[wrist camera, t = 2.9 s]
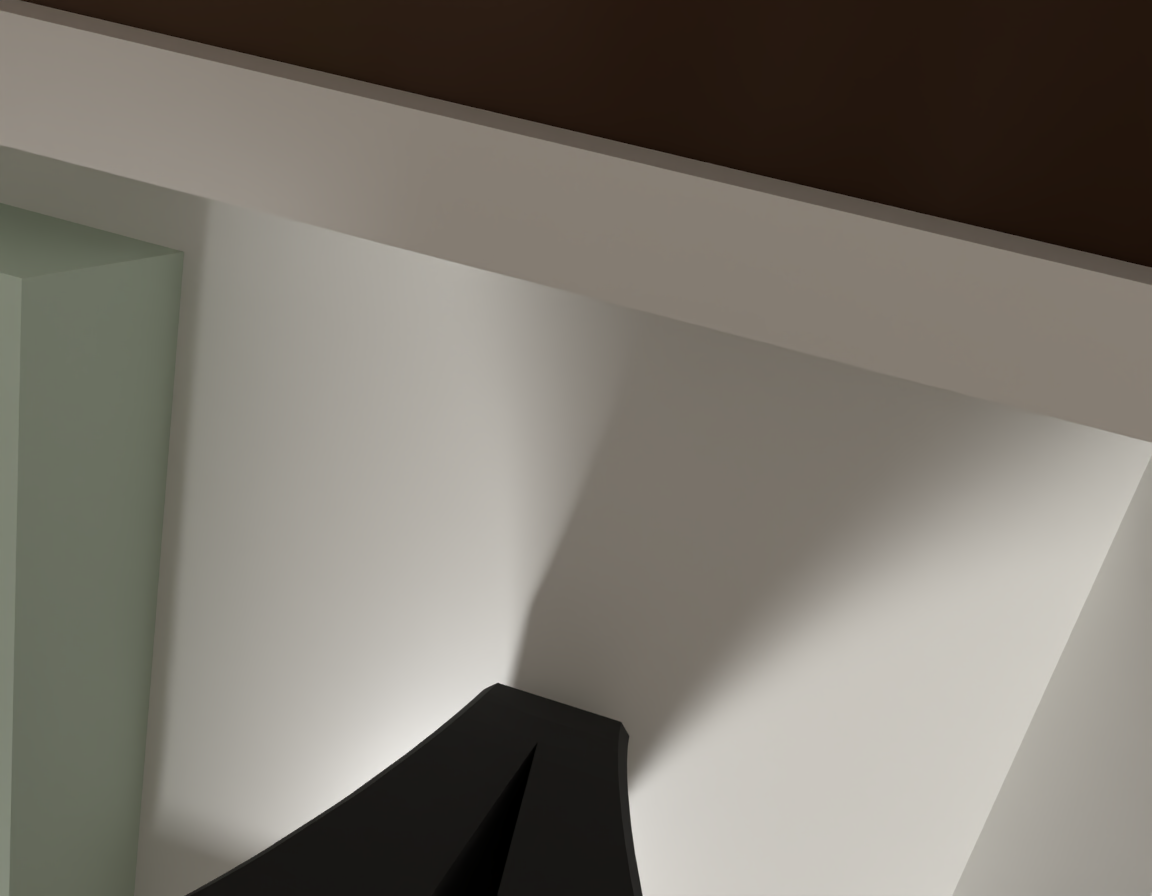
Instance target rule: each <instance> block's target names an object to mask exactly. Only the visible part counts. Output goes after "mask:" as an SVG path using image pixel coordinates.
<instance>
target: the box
mask: <svg viewBox="0 0 1152 896" xmlns="http://www.w3.org/2000/svg"><path fill="white" fill-rule="evenodd" d="M0 203H3V204H7V205H11V206H14V207H18V208H22V209H26V210H29V211H33V212H37V213H41V214H44V215H48V216H52V217H55V218H59V219H63V220H67V221H70V222H74V223H78V224H82V225H85V226H89V227H93V228H97V229H100V230H104V231H108V232H112V233H115V234H119V235H123V236H126V237H130V238H134V239H138V240H141V241H145V242H149V243H153V244H156V245H160V246H164V247H168V248H171V249H175V250H179V251H183V252H184V260H183V273H182V286H181V299H180V311H179V324H178V337H177V350H176V363H175V376H174V388H173V401H172V414H171V427H170V440H169V453H168V466H167V478H166V491H165V504H164V517H163V530H162V543H161V556H160V568H159V581H158V594H157V607H156V620H155V633H154V646H153V658H152V671H151V684H150V697H149V710H148V723H147V735H146V748H145V761H144V774H143V787H142V800H141V813H140V825H139V838H138V851H137V864H136V877H135V890H134V896H185V895H187V894H188V893H190V892H192V891H194V890H196V889H198V888H199V887H201V886H203V885H205V884H207V883H208V882H210V881H212V880H214V879H216V878H217V877H219V876H221V875H223V874H224V873H226V872H228V871H230V870H231V869H233V868H235V867H236V866H238V865H240V864H242V863H243V862H245V861H247V860H248V859H250V858H252V857H253V856H255V855H257V854H258V853H260V852H262V851H263V850H265V849H267V848H268V847H270V846H271V845H273V844H274V843H276V842H277V841H279V840H281V839H282V838H284V837H285V836H287V835H288V834H290V833H292V832H293V831H295V830H296V829H298V828H299V827H301V826H302V825H304V824H306V823H307V822H309V821H310V820H312V819H313V818H315V817H317V816H318V815H320V814H321V813H323V812H324V811H326V810H327V809H329V808H331V807H332V806H334V805H335V804H337V803H338V802H340V801H341V800H343V799H344V798H345V797H347V796H348V795H350V794H351V793H353V792H354V791H355V790H357V789H358V788H360V787H361V786H362V785H364V784H365V783H366V782H368V781H369V780H371V779H372V778H373V777H375V776H376V775H377V774H379V773H380V772H382V771H383V770H384V769H386V768H387V767H388V766H390V765H391V764H393V763H394V762H395V761H397V760H398V759H399V758H401V757H402V756H404V755H405V754H406V753H408V752H409V751H410V750H412V749H413V748H414V747H415V746H417V745H418V744H419V743H420V742H422V741H423V740H424V739H426V738H427V737H428V736H429V735H431V734H432V733H433V732H434V731H436V730H437V729H438V728H439V727H441V726H442V725H443V724H444V723H446V722H447V721H448V720H449V719H450V718H452V717H453V716H454V715H455V714H456V713H457V712H459V711H460V710H461V709H462V708H463V707H464V706H466V705H467V704H468V703H469V702H470V701H471V700H472V699H474V698H475V697H476V696H477V695H478V694H479V693H480V692H481V691H482V690H484V689H485V688H487V687H489V686H492V685H494V684H496V683H500V684H504V685H507V686H510V687H513V688H516V689H519V690H522V691H526V692H529V693H532V694H535V695H538V696H541V697H545V698H548V699H551V700H554V701H557V702H560V703H564V704H567V705H570V706H573V707H576V708H579V709H582V710H586V711H589V712H592V713H595V714H598V715H601V716H605V717H608V718H611V719H614V720H617V721H620V722H622V724H623V726H624V727H625V729H626V731H627V733H628V734H629V742H628V753H627V781H628V797H629V807H630V818H631V827H632V835H633V842H634V849H635V856H636V861H637V867H638V872H639V878H640V884H641V889H642V895H643V896H1152V268H1151V267H1147V266H1143V265H1138V264H1134V263H1130V262H1126V261H1121V260H1117V259H1113V258H1109V257H1104V256H1100V255H1096V254H1092V253H1088V252H1083V251H1079V250H1075V249H1071V248H1066V247H1062V246H1058V245H1054V244H1049V243H1045V242H1041V241H1037V240H1033V239H1028V238H1024V237H1020V236H1016V235H1011V234H1007V233H1003V232H999V231H994V230H990V229H986V228H982V227H978V226H973V225H969V224H965V223H961V222H956V221H952V220H948V219H944V218H939V217H935V216H931V215H927V214H922V213H918V212H914V211H910V210H906V209H901V208H897V207H893V206H889V205H884V204H880V203H876V202H872V201H867V200H863V199H859V198H855V197H851V196H846V195H842V194H838V193H834V192H829V191H825V190H821V189H817V188H812V187H808V186H804V185H800V184H796V183H791V182H787V181H783V180H779V179H774V178H770V177H766V176H762V175H757V174H753V173H749V172H745V171H741V170H736V169H732V168H728V167H724V166H719V165H715V164H711V163H707V162H702V161H698V160H694V159H690V158H685V157H681V156H677V155H673V154H669V153H664V152H660V151H656V150H652V149H647V148H643V147H639V146H635V145H630V144H626V143H622V142H618V141H614V140H609V139H605V138H601V137H597V136H592V135H588V134H584V133H580V132H575V131H571V130H567V129H563V128H559V127H554V126H550V125H546V124H542V123H537V122H533V121H529V120H525V119H520V118H516V117H512V116H508V115H504V114H499V113H495V112H491V111H487V110H482V109H478V108H474V107H470V106H465V105H461V104H457V103H453V102H448V101H444V100H440V99H436V98H432V97H427V96H423V95H419V94H415V93H410V92H406V91H402V90H398V89H393V88H389V87H385V86H381V85H377V84H372V83H368V82H364V81H360V80H355V79H351V78H347V77H343V76H338V75H334V74H330V73H326V72H322V71H317V70H313V69H309V68H305V67H300V66H296V65H292V64H288V63H283V62H279V61H275V60H271V59H267V58H262V57H258V56H254V55H250V54H245V53H241V52H237V51H233V50H228V49H224V48H220V47H216V46H211V45H207V44H203V43H199V42H195V41H190V40H186V39H182V38H178V37H173V36H169V35H165V34H161V33H156V32H152V31H148V30H144V29H140V28H135V27H131V26H127V25H123V24H118V23H114V22H110V21H106V20H101V19H97V18H93V17H89V16H85V15H80V14H76V13H72V12H68V11H63V10H59V9H55V8H51V7H46V6H42V5H38V4H34V3H30V2H25V1H21V0H0Z"/></svg>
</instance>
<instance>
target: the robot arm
mask: <svg viewBox="0 0 1152 896" xmlns="http://www.w3.org/2000/svg"><path fill="white" fill-rule="evenodd" d="M628 742H629V734H628V733H627V731H626V729H625V727H624V726H623V724H622V722H620V721H617V720H614V719H611V718H608V717H605V716H601V715H598V714H595V713H592V712H589V711H586V710H582V709H579V708H576V707H573V706H570V705H567V704H564V703H560V702H557V701H554V700H551V699H548V698H545V697H541V696H538V695H535V694H532V693H529V692H526V691H522V690H519V689H516V688H513V687H510V686H507V685H504V684H500V683H496V684H494V685H492V686H489V687H487V688H485V689H484V690H482V691H481V692H480V693H479V694H478V695H477V696H476V697H475V698H474V699H472V700H471V701H470V702H469V703H468V704H467V705H466V706H464V707H463V708H462V709H461V710H460V711H459V712H457V713H456V714H455V715H454V716H453V717H452V718H450V719H449V720H448V721H447V722H446V723H444V724H443V725H442V726H441V727H439V728H438V729H437V730H436V731H434V732H433V733H432V734H431V735H429V736H428V737H427V738H426V739H424V740H423V741H422V742H420V743H419V744H418V745H417V746H415V747H414V748H413V749H412V750H410V751H409V752H408V753H406V754H405V755H404V756H402V757H401V758H399V759H398V760H397V761H395V762H394V763H393V764H391V765H390V766H388V767H387V768H386V769H384V770H383V771H382V772H380V773H379V774H377V775H376V776H375V777H373V778H372V779H371V780H369V781H368V782H366V783H365V784H364V785H362V786H361V787H360V788H358V789H357V790H355V791H354V792H353V793H351V794H350V795H348V796H347V797H345V798H344V799H343V800H341V801H340V802H338V803H337V804H335V805H334V806H332V807H331V808H329V809H327V810H326V811H324V812H323V813H321V814H320V815H318V816H317V817H315V818H313V819H312V820H310V821H309V822H307V823H306V824H304V825H302V826H301V827H299V828H298V829H296V830H295V831H293V832H292V833H290V834H288V835H287V836H285V837H284V838H282V839H281V840H279V841H277V842H276V843H274V844H273V845H271V846H270V847H268V848H267V849H265V850H263V851H262V852H260V853H258V854H257V855H255V856H253V857H252V858H250V859H248V860H247V861H245V862H243V863H242V864H240V865H238V866H236V867H235V868H233V869H231V870H230V871H228V872H226V873H224V874H223V875H221V876H219V877H217V878H216V879H214V880H212V881H210V882H208V883H207V884H205V885H203V886H201V887H199V888H198V889H196V890H194V891H192V892H190V893H188V894H187V895H185V896H643V895H642V889H641V884H640V878H639V872H638V867H637V861H636V856H635V849H634V842H633V835H632V827H631V818H630V807H629V797H628V781H627V753H628Z"/></svg>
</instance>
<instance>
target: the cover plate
mask: <svg viewBox="0 0 1152 896" xmlns="http://www.w3.org/2000/svg"><path fill="white" fill-rule="evenodd" d="M183 260H184V252H183V251H179V250H175V249H171V248H168V247H164V246H160V245H156V244H153V243H149V242H145V241H141V240H138V239H134V238H130V237H126V236H123V235H119V234H115V233H112V232H108V231H104V230H100V229H97V228H93V227H89V226H85V225H82V224H78V223H74V222H70V221H67V220H63V219H59V218H55V217H52V216H48V215H44V214H41V213H37V212H33V211H29V210H26V209H22V208H18V207H14V206H11V205H7V204H3V203H0V896H134V890H135V877H136V864H137V851H138V838H139V825H140V813H141V800H142V787H143V774H144V761H145V748H146V735H147V723H148V710H149V697H150V684H151V671H152V658H153V646H154V633H155V620H156V607H157V594H158V581H159V568H160V556H161V543H162V530H163V517H164V504H165V491H166V478H167V466H168V453H169V440H170V427H171V414H172V401H173V388H174V376H175V363H176V350H177V337H178V324H179V311H180V299H181V286H182V273H183Z"/></svg>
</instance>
